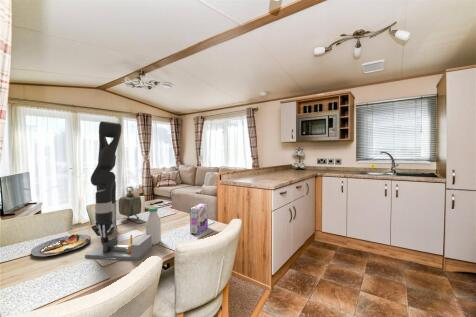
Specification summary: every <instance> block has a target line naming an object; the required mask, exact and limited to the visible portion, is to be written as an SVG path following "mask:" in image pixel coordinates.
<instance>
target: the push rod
mask: <svg viewBox="0 0 476 317" xmlns="http://www.w3.org/2000/svg"><path fill="white" fill-rule="evenodd" d="M118 242H119V241H118V235H117V236H116V235H113V236H111V237H110V238H108V240H106V241H105V242H103V253H108V252H109V251H111V250H116V251H126V253H128V249H127V247H128V246H129V245H130V244H118Z"/></svg>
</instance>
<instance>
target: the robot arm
mask: <svg viewBox="0 0 476 317" xmlns="http://www.w3.org/2000/svg"><path fill="white" fill-rule="evenodd" d="M121 133H122V125H121V123H119V122H115V121H109V120H101V121H100V122H99V124H98V143H99V144H98V155H97V156H98V157H97V158H98V159H97V165H96V167H95V169H94V171H93V172H92V174H91V176H90V182H91V185H93V186H94V187H96V192H95V206H94V212H95V213H94V214H95V216H94V217H95V218H94V220H95V224H94V225H92V226H91V229H92V231H93V232H94V233H95V235H96V236H97V237H100V243H101V245H102V244H103V242H105V241H106V240H108V239H109V237H110V236H112V234H114V232H115V231H116V229H117V228H118V225H117V196H116V193H117V192H116V191H117V181H116V174H115V173H114V172H113V171H112V170H113V169H114V168H115V165H116V158H117V156H116V152H117V148H118V146H119V144H120V143H119V142H120V138H121V135H122V134H121ZM107 138H111V139H112V140H111V142H108V141H107Z"/></svg>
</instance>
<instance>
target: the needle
mask: <svg viewBox="0 0 476 317" xmlns="http://www.w3.org/2000/svg"><path fill="white" fill-rule="evenodd" d="M129 238H130V241H129V242H130V244H128V245H129V246H128V247H127V249H128V253H130V252H131V244H133V243H134V242H135V241H134V242H133V234H130V237H129Z"/></svg>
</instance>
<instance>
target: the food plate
mask: <svg viewBox="0 0 476 317" xmlns="http://www.w3.org/2000/svg"><path fill="white" fill-rule="evenodd" d="M91 240H92V238H91V236H90V235H87V234H71V235H67V236H61V237H59V238H58V237H57V238H54V239H51V240H47V241H44V242H41V243H40V244H37V245H36V246H34V247H33V248H32V249H31V250H30V253H31V255H32V256H35V257H48V256H54V255H55V256H56V255H59V254H63V253H67V252H69V251H73V250H77V249H79V248H81V247H85V245H88V244H89V243H90V242H91ZM59 241H60V242H59ZM57 242H58V243H60V244H59V245H58V244H57V245H53V244H56V243H57ZM50 245H52V247H48V246H50ZM45 247H47V248H45ZM44 248H45V249H44ZM42 249H44V250H43V251H42V252H41V250H42Z"/></svg>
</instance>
